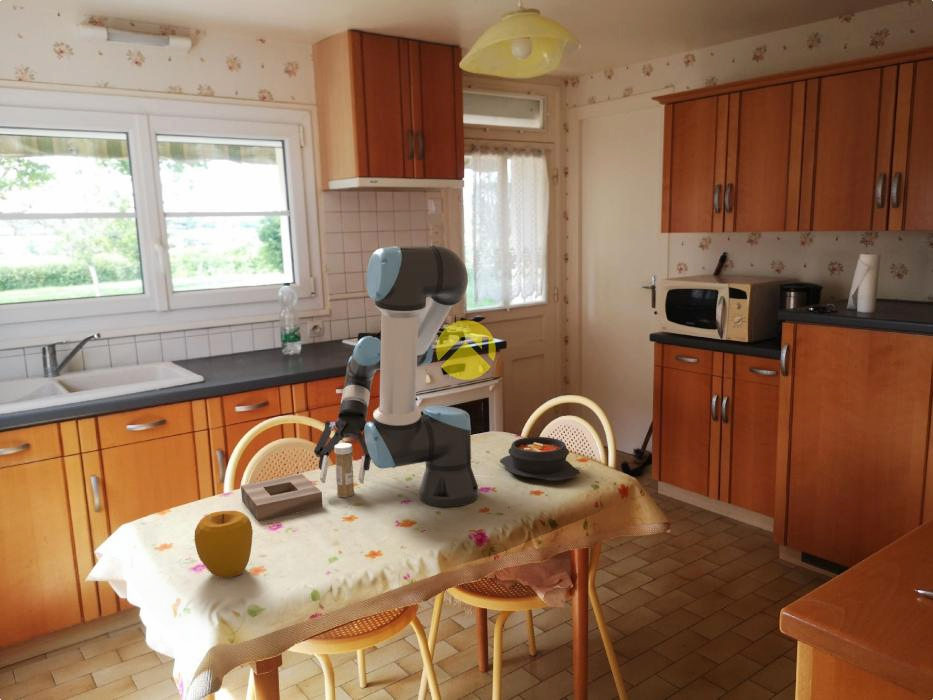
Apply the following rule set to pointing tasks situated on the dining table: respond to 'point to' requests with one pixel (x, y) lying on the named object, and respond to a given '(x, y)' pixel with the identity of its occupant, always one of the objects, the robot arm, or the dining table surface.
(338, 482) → the sprinkles bottle
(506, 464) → the casserole
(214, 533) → the apple
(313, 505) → the frame
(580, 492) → the dining table surface
